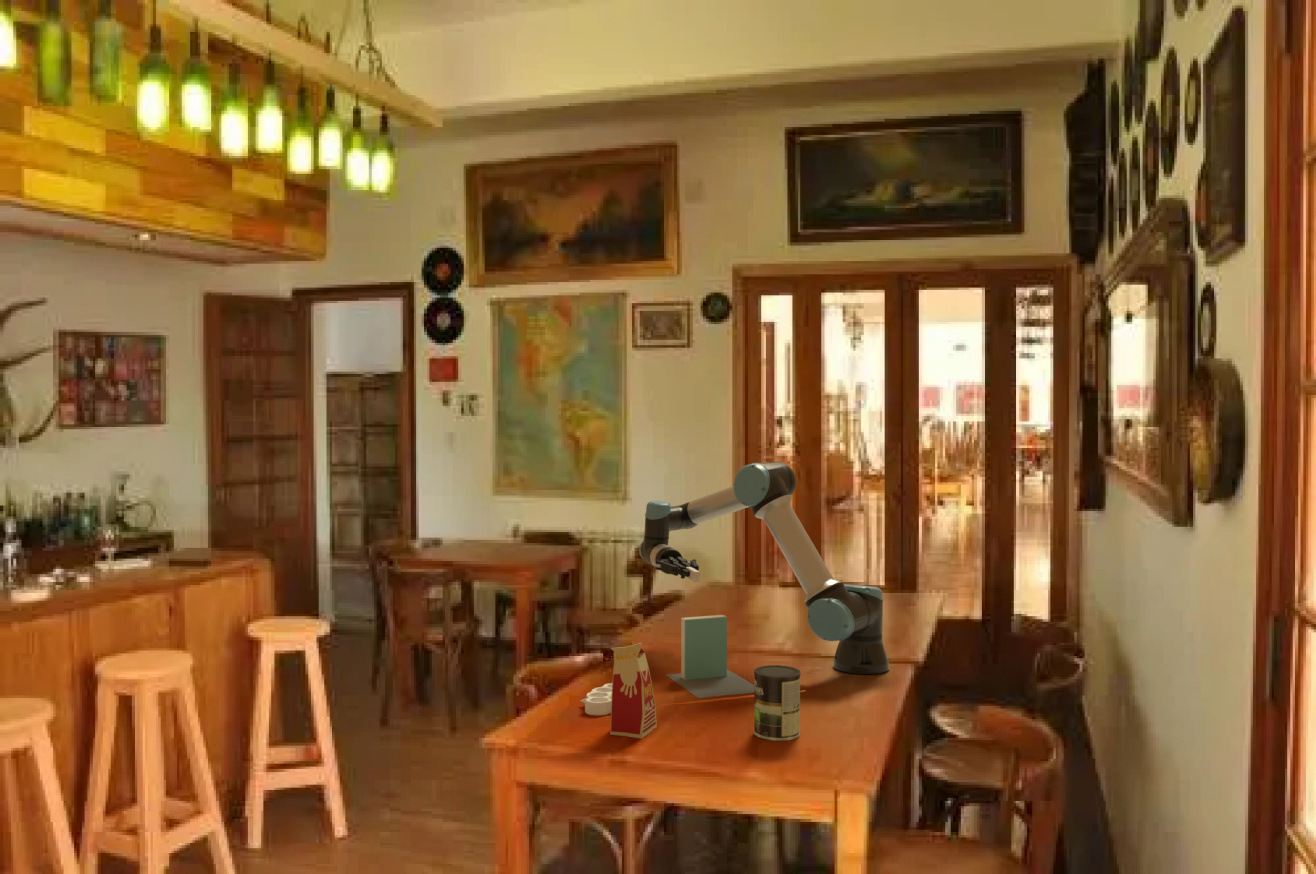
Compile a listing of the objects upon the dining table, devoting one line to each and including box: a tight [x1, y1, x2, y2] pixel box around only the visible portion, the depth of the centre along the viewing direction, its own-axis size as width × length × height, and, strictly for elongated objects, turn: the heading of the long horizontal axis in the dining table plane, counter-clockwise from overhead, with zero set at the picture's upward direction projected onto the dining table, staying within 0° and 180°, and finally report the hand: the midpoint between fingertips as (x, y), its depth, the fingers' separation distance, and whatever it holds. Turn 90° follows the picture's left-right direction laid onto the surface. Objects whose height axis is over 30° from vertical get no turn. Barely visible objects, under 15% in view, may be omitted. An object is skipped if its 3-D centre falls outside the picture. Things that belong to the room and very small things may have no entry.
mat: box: [666, 668, 755, 699], centre depth 268 cm, size 24×18×1 cm
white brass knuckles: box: [580, 682, 612, 716], centre depth 249 cm, size 3×18×15 cm
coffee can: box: [753, 664, 802, 742], centre depth 226 cm, size 10×10×14 cm
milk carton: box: [609, 642, 658, 739], centre depth 229 cm, size 9×9×20 cm
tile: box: [680, 614, 728, 680], centre depth 274 cm, size 3×12×16 cm, turn 109°
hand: (697, 576), depth 281 cm, fingers closed
